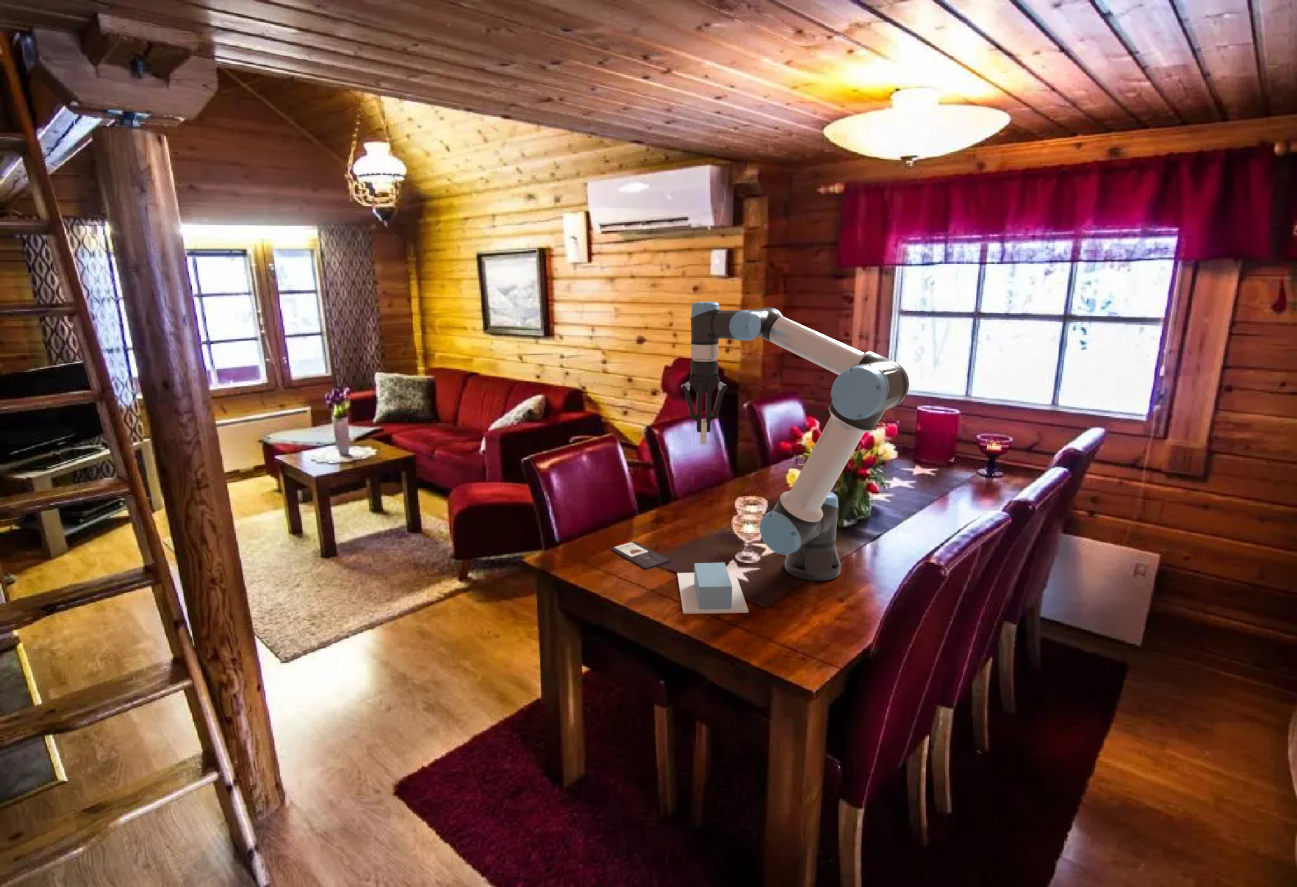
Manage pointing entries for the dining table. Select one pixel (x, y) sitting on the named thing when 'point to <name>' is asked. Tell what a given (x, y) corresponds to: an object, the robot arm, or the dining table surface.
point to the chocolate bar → (640, 555)
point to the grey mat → (690, 596)
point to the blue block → (712, 586)
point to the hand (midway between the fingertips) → (703, 443)
